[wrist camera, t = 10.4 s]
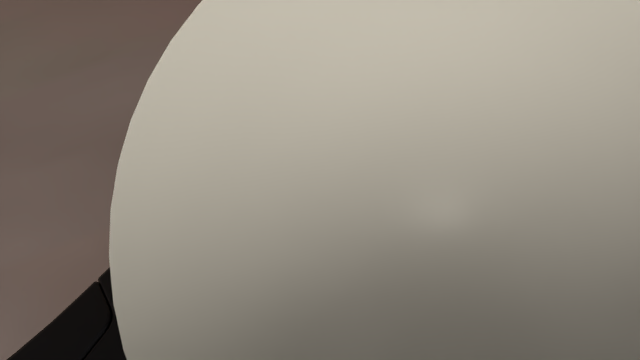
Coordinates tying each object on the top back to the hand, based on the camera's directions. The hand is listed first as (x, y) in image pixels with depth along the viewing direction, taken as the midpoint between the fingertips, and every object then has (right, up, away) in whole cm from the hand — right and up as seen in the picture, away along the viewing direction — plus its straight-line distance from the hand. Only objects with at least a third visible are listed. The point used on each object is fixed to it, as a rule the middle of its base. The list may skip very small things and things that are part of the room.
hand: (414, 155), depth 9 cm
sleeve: (+1, -2, +6) cm, 7 cm away
